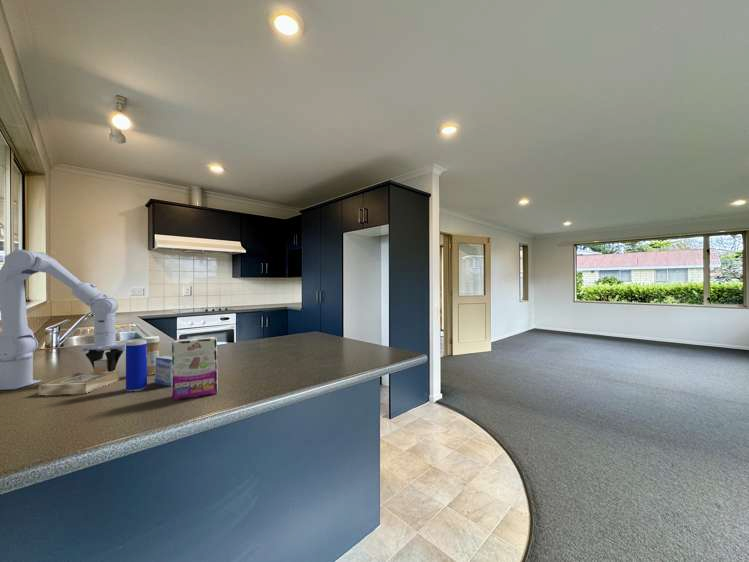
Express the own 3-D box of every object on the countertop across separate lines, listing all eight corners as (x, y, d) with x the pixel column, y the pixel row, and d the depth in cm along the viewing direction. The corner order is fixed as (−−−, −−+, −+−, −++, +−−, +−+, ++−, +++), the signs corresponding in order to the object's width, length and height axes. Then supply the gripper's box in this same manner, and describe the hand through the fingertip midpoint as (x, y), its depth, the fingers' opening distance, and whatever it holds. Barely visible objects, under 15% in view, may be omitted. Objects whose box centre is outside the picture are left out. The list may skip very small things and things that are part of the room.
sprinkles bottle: (158, 371, 113) (158, 335, 113) (159, 374, 110) (159, 337, 110) (143, 373, 110) (143, 336, 111) (144, 376, 107) (144, 338, 107)
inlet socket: (58, 390, 92) (58, 382, 92) (79, 382, 99) (79, 375, 99) (84, 389, 93) (84, 381, 93) (103, 382, 100) (103, 374, 100)
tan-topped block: (93, 378, 104) (94, 361, 104) (103, 375, 108) (103, 358, 108) (106, 378, 105) (106, 360, 105) (115, 374, 109) (115, 358, 109)
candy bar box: (218, 389, 93) (217, 335, 93) (217, 394, 89) (217, 338, 89) (174, 395, 88) (174, 338, 88) (171, 401, 84) (171, 341, 84)
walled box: (38, 395, 89) (38, 385, 89) (77, 381, 102) (77, 372, 102) (86, 393, 90) (86, 383, 90) (119, 380, 103) (119, 371, 103)
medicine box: (154, 384, 99) (154, 357, 99) (168, 380, 103) (168, 354, 103) (171, 387, 96) (171, 359, 96) (184, 382, 100) (184, 356, 100)
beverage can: (150, 387, 95) (150, 339, 95) (133, 393, 90) (133, 342, 91) (139, 385, 97) (139, 338, 97) (121, 391, 92) (121, 341, 92)
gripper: (72, 334, 102) (72, 375, 102) (118, 333, 103) (118, 373, 103) (90, 331, 109) (90, 369, 109) (133, 330, 110) (132, 368, 110)
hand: (104, 371), depth 106 cm, fingers closed on tan-topped block, 4 cm apart
